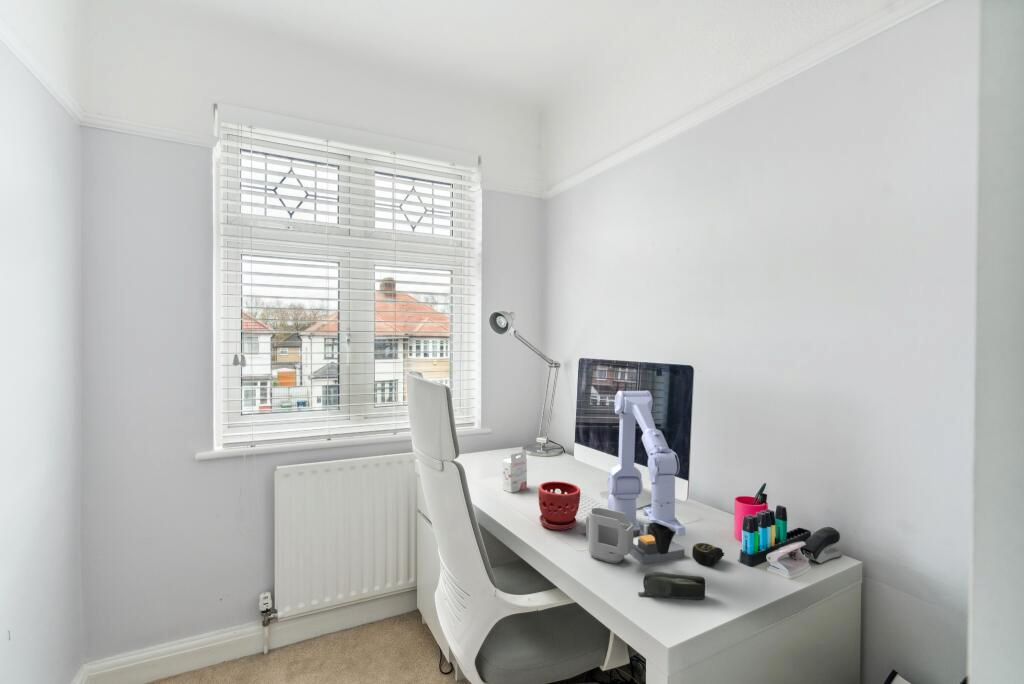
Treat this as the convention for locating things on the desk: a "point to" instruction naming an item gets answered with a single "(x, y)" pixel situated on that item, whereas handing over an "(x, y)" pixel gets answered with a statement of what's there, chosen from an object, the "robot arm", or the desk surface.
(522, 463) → the ink cartridge box
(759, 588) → the desk surface
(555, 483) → the plant pot
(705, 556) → the tape measure
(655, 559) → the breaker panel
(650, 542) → the block
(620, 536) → the grey piece
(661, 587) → the dark elongated piece
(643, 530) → the on rocker
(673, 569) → the desk surface
